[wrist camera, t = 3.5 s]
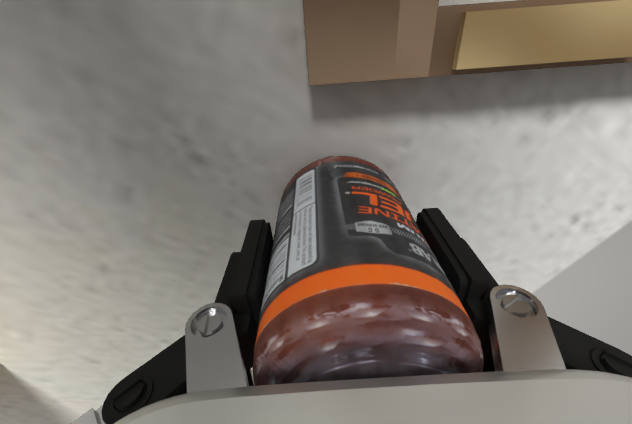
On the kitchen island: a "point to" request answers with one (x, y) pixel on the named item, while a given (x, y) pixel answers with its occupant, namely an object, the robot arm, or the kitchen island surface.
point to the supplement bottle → (356, 286)
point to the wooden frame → (460, 37)
